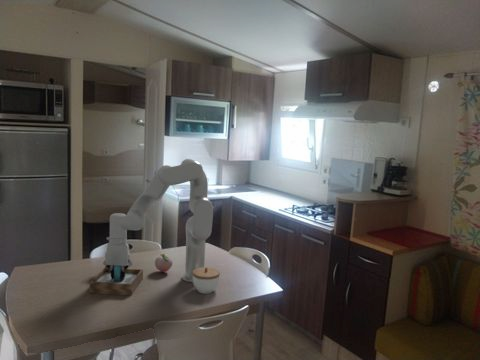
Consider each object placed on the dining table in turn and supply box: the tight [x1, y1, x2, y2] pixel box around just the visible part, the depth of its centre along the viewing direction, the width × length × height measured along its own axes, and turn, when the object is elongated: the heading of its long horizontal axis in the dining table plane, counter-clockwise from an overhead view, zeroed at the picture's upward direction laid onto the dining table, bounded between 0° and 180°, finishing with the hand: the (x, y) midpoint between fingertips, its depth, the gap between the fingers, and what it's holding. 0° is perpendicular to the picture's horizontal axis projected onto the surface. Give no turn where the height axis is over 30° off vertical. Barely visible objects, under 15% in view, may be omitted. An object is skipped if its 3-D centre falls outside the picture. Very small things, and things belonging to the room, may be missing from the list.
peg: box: [114, 266, 122, 282], centre depth 180 cm, size 4×4×10 cm
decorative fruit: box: [154, 253, 173, 273], centre depth 200 cm, size 9×8×10 cm
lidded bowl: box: [192, 266, 220, 295], centre depth 180 cm, size 13×13×11 cm
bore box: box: [89, 266, 144, 296], centre depth 181 cm, size 19×19×5 cm
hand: (117, 278), depth 181 cm, fingers closed on peg, 3 cm apart
